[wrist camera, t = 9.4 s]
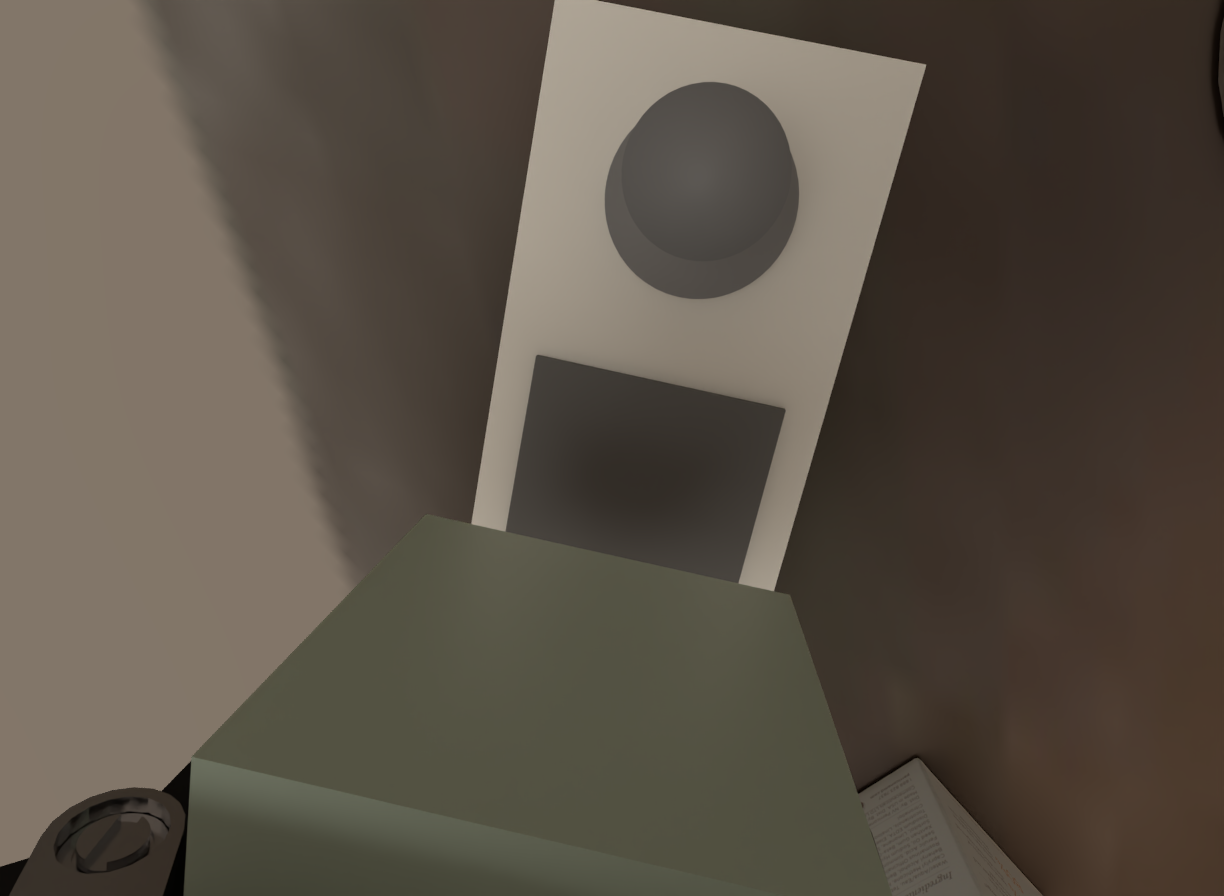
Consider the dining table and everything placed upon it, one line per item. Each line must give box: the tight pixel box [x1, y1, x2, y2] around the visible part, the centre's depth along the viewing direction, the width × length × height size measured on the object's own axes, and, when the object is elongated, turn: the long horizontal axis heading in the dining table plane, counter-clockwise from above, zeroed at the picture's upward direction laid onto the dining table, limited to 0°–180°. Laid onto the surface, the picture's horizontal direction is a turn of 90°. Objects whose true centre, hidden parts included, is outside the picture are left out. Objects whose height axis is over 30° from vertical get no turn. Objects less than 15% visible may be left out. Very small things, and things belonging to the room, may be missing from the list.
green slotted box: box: [184, 514, 893, 896], centre depth 10 cm, size 6×6×6 cm
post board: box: [471, 0, 926, 591], centre depth 19 cm, size 18×10×10 cm, turn 169°
